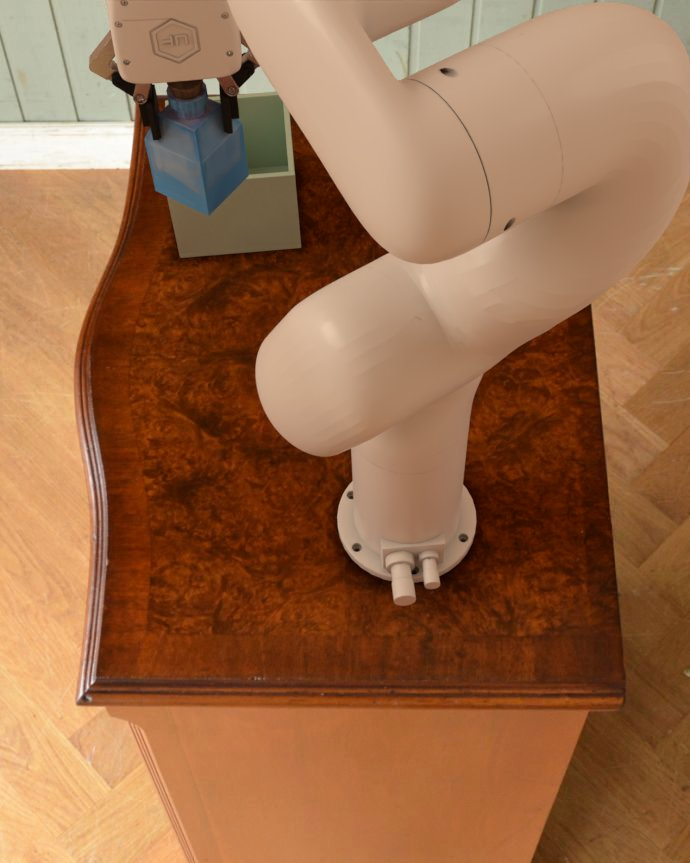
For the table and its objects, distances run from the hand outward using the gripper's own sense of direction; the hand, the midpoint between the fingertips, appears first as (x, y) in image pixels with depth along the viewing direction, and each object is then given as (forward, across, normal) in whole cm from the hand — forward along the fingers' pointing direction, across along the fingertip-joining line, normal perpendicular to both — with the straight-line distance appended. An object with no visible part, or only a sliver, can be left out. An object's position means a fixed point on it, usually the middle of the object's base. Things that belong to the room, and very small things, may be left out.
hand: (192, 124), depth 101 cm
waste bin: (+24, +2, +13) cm, 27 cm away
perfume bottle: (+7, 0, 0) cm, 7 cm away
